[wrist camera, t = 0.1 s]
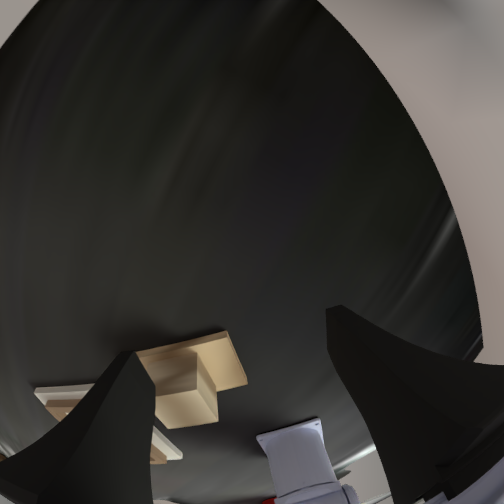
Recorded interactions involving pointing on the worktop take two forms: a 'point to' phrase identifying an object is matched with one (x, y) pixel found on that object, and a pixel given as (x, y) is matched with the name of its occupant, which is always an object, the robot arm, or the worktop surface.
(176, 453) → the keyed base
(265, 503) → the ceramic cup
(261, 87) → the worktop surface
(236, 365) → the flange block
